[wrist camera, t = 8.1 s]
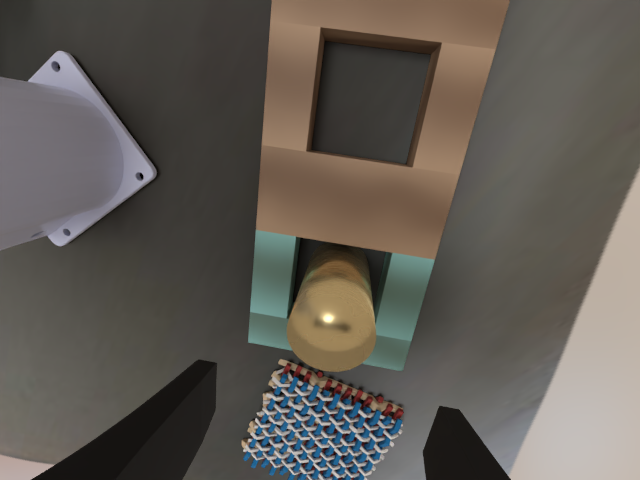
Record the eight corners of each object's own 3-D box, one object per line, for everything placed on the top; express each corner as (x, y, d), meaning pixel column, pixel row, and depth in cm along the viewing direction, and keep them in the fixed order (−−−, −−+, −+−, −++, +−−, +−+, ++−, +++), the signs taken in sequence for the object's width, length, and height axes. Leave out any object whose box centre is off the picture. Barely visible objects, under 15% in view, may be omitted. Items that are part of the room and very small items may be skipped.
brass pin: (329, 303, 20) (317, 383, 14) (298, 257, 19) (269, 319, 13) (379, 278, 19) (392, 351, 13) (349, 229, 18) (346, 280, 12)
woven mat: (410, 400, 23) (415, 424, 21) (352, 483, 26) (352, 510, 24) (282, 348, 22) (276, 367, 21) (241, 439, 26) (232, 462, 24)
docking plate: (398, 350, 21) (402, 371, 19) (257, 324, 21) (248, 342, 19) (492, 5, 14) (514, -16, 12) (285, -20, 15) (274, -43, 13)
